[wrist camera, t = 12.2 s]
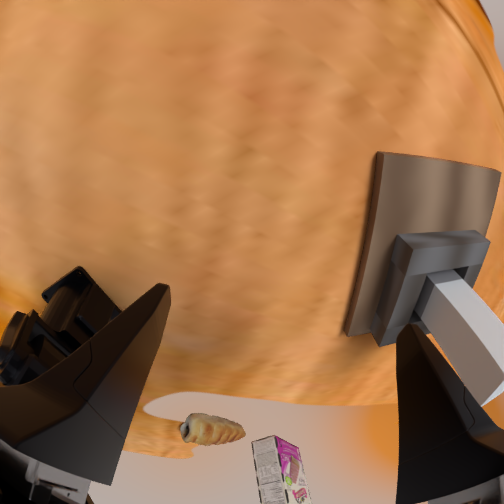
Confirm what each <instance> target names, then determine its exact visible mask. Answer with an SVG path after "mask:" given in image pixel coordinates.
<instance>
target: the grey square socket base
mask: <svg viewBox="0 0 504 504" xmlns="http://www.w3.org/2000/svg"><path fill="white" fill-rule="evenodd" d="M500 177H501V172H499V171H497V170H495V169H491V168H487V167H482V166H477V165H472V164H467V163H462V162H456V161H450V160H444V159H438V158H431V157H424V156H416V155H408V154H399V153H390V152H379V151H377V161H376V170H375V179H374V187H373V194H372V201H371V208H370V214H369V220H368V226H367V232H366V237H365V243H364V248H363V253H362V258H361V263H360V267H359V272H358V277H357V281H356V285H355V290H354V294H353V298H352V302H351V306H350V310H349V314H348V317H347V321H346V325H345V328H344V331H345V333H346V336H347V337H350V336H355V335H361V334H366V333H372V335H373V337H374V339H375V340H376V342H377V344H378V346H379V347H381V346H385V345H389V344H393V343H396V338H397V336H398V334H399V333H400V332H401V330H402V329H403V328H404V326H405V325H406V324H408V323H413V324H417V325H418V326H419V327H420V329H421V330H422V331H423V332H424V333H425V335H426V334H429V333H431V332H430V331H429V330H428V328H427V327H426V325H425V324H424V322H423V321H422V320H421V318H420V317H419V316H418V314H417V313H416V311H415V310H414V307H415V305H416V302H417V300H418V297H419V295H420V292H421V289H422V287H423V284H424V281H425V278H426V275H427V273H431V272H437V271H443V270H449V269H453V270H454V271H455V272H456V273H457V274H458V275H459V276H460V277H461V278H462V279H463V280H464V281H465V282H466V283H467V284H468V285H469V286H470V287H471V288H473V286H474V284H475V281H476V279H477V277H478V274H479V272H480V269H481V267H482V264H483V261H484V259H485V256H486V253H487V251H488V248H489V245H490V241H489V240H488V239H487V238H485V236H486V233H487V229H488V226H489V223H490V219H491V216H492V212H493V208H494V204H495V200H496V196H497V192H498V187H499V182H500Z"/></svg>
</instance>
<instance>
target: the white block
mask: <svg viewBox="0 0 504 504" xmlns="http://www.w3.org/2000/svg"><path fill="white" fill-rule="evenodd" d="M414 310H415V311H416V313H417V314H418V316H419V317H420V318H421V320H422V321H423V322H424V324H425V325H426V327H427V328H428V330H429V331H430V332H431V334H432V335H433V337H434V338H435V340H436V341H437V343H438V344H439V345H440V347H441V348H442V350H443V351H444V353H445V355H446V356H447V358H448V359H449V361H450V362H451V364H452V365H453V367H454V368H455V370H456V372H457V373H458V375H459V376H460V378H461V380H462V381H463V383H464V385H465V386H466V387H467V389H468V390H469V392H470V393H471V394H472V396H473V397H474V398H475V400H476V401H477V402H478V403H479V405H480V406H481V407H482V406H483V405H485V404H486V403H488V402H489V401H491V400H492V399H493V398H495V397H496V396H498V395H499V394H501V393H502V392H503V391H504V324H503V323H502V322H501V321H500V319H499V318H498V317H497V316H496V315H495V314H494V312H493V311H492V310H491V309H490V308H489V307H488V306H487V304H486V303H485V302H484V301H483V300H482V299H481V298H480V297H479V296H478V295H477V294H476V292H475V291H474V290H473V289H472V288H471V287H470V286H469V285H468V284H467V283H466V282H465V281H464V280H463V279H462V278H461V277H460V276H459V275H458V274H457V273H456V272H455V271H454V270H453V269H449V270H443V271H437V272H431V273H427V275H426V278H425V281H424V284H423V287H422V289H421V292H420V295H419V297H418V300H417V302H416V305H415V307H414Z"/></svg>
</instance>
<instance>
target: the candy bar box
mask: <svg viewBox="0 0 504 504" xmlns="http://www.w3.org/2000/svg"><path fill="white" fill-rule="evenodd" d="M252 448H253V457H254V464H255V470H256V477H257V483H258V490H259V496H260V502H261V504H312V502H311V498H310V494H309V490H308V486H307V482H306V478H305V473H304V469H303V465H302V461H301V457H300V452H299V448H298V447H296V446H294V445H292V444H290V443H288V442H287V441H285V440H283V439H281V438H279V437H277V436H275V435H273V436H269V437H266V438H263V439H259V440H256V441H253V442H252Z"/></svg>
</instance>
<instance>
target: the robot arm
mask: <svg viewBox="0 0 504 504" xmlns="http://www.w3.org/2000/svg"><path fill="white" fill-rule="evenodd" d="M79 272H80V273H81V274H80V273H79ZM46 295H47V296H46ZM42 298H43V299H44V300H45V301H46V302H47V303H48V304H47V306H46V308H45V310H44V311H43V313H42V315H41V317H39V316H38V313H37V312H36V311H35V310H34V309H33V310H32V311H30V312H29V313H28V314H25V313H21V312H19V311H17V312H16V313H15V314H14V315H13V317H12V318H11V320H10V322H9V323H8V325H7V327H6V329H5V331H4V333H3V335H2V338H1V341H0V504H94V503H93V501H92V499H91V498H90V496H89V494H88V490H89V486H90V482H91V481H95V482H98V483H102V484H106V485H109V486H111V484H112V480H113V477H114V474H115V470H116V467H117V464H118V461H119V458H120V455H121V451H122V448H123V445H124V442H125V440H124V439H126V436H127V433H128V430H129V427H130V424H131V421H132V418H133V416H134V413H135V410H136V407H137V404H138V401H139V399H140V396H141V393H142V390H143V388H144V385H145V382H146V380H147V377H148V374H149V372H150V369H151V366H152V364H153V361H154V359H155V356H156V354H157V351H158V348H159V346H160V343H161V339H162V335H163V332H164V328H165V324H166V320H167V317H168V313H169V310H170V306H171V294H170V286H169V285H167V284H162V283H158V284H156V285H155V286H154V287H152V288H151V289H150V290H149V291H147V292H146V293H145V294H144V295H142V296H141V297H140V298H139V299H137V300H136V301H135V302H134V303H132V304H131V305H130V306H129V307H128V308H126V309H125V310H124V311H123V312H122V311H121V310H120V309H119V308H118V307H117V306H116V305H115V304H114V303H113V302H112V301H111V299H110V298H109V297H108V296H107V295H106V294H105V293H104V292H103V291H102V289H101V288H100V287H99V286H98V285H97V284H96V283H95V281H94V280H93V279H92V278H91V277H90V276H89V274H88V273H87V272H86V271H85V270H84V269H83V268H82V267H80V266H78V267H76V268H75V269H73V270H72V271H70V272H69V273H67V274H66V275H65V276H63V277H62V278H60V279H59V280H58V281H56V282H55V283H54V284H52V285H51V286H50V287H48V288H47V289H45V290H44V291H43V293H42ZM396 378H397V392H398V411H399V465H398V482H397V494H396V504H416V503H421V502H425V501H428V504H504V430H503V429H501V428H499V427H498V426H497V425H496V424H495V423H494V422H493V421H492V419H491V418H490V417H489V416H488V414H487V413H486V412H485V411H484V410H483V408H482V407H481V406H480V405H479V403H478V402H477V401H476V400H475V398H474V397H473V396H472V394H471V393H470V392H469V390H468V389H467V387H466V386H464V383H463V382H462V381H461V379H460V378H459V377H458V375H457V374H456V373H455V371H454V370H453V369H452V367H451V366H450V365H449V363H448V362H447V361H446V360H445V358H444V357H443V356H442V354H441V353H440V352H439V351H438V349H437V348H436V347H435V346H434V344H433V343H432V342H431V341H430V339H429V338H428V337H427V336H426V335H425V333H424V332H423V331H422V330H421V329H420V327H419V326H418V325H417V324H413V323H408V324H406V325H405V326H404V328H403V329H402V330H401V332H400V333H399V334H398V336H397V338H396Z"/></svg>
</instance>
